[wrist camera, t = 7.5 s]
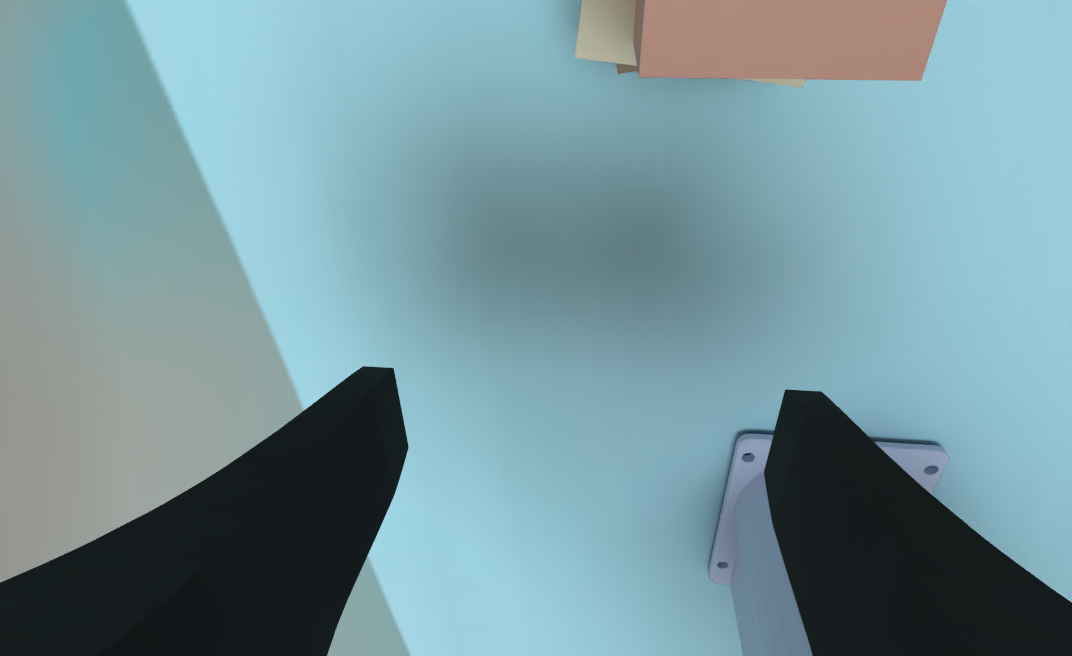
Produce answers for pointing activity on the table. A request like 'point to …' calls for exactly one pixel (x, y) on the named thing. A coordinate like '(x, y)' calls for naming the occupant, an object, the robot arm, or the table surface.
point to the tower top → (620, 35)
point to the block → (785, 38)
